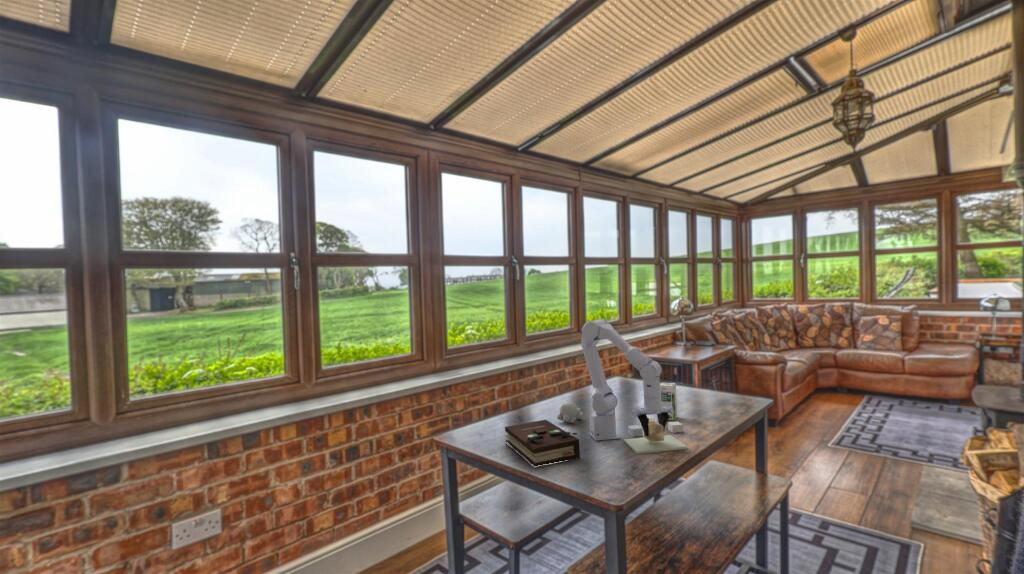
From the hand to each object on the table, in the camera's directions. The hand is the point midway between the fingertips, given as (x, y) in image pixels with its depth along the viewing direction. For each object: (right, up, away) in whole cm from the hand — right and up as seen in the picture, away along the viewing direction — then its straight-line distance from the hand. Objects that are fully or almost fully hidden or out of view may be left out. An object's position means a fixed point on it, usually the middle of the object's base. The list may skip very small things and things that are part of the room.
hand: (653, 434), depth 159 cm
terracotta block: (+4, -4, +19) cm, 20 cm away
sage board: (0, -4, 0) cm, 4 cm away
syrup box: (+16, -3, +29) cm, 33 cm away
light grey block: (+13, -3, +14) cm, 19 cm away
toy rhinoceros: (-25, -5, +31) cm, 40 cm away
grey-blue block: (-3, -4, +12) cm, 13 cm away
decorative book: (-40, -6, 0) cm, 40 cm away
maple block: (0, -2, 0) cm, 2 cm away
